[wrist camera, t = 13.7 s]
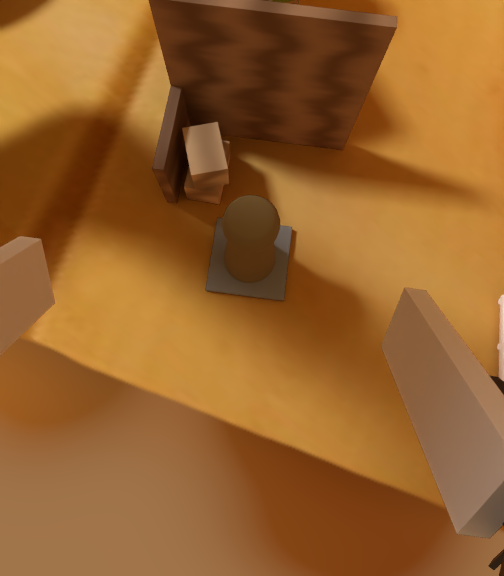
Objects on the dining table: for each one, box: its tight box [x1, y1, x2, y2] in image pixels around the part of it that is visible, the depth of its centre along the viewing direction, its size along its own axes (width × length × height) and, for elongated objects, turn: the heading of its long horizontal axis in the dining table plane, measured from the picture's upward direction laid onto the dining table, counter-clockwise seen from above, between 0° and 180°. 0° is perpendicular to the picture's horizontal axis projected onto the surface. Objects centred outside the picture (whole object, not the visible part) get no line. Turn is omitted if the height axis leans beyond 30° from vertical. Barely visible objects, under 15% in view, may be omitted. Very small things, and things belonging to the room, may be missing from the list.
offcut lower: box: [184, 140, 231, 205], centre depth 41 cm, size 4×7×3 cm, turn 170°
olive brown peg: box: [222, 195, 280, 283], centre depth 34 cm, size 6×6×11 cm
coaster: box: [205, 217, 292, 301], centre depth 40 cm, size 9×9×1 cm
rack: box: [149, 0, 397, 203], centre depth 35 cm, size 21×12×16 cm, turn 83°
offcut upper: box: [182, 122, 229, 190], centre depth 38 cm, size 4×6×3 cm, turn 12°
